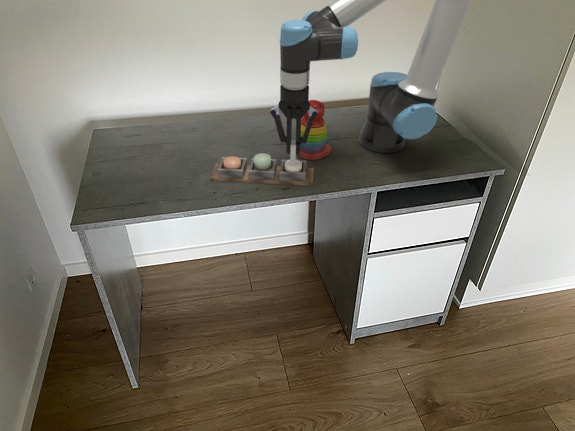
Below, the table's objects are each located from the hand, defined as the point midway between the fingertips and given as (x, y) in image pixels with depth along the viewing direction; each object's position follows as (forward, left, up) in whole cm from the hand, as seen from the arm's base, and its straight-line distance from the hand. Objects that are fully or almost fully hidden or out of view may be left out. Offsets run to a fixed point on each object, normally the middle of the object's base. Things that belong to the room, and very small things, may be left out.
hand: (293, 162), depth 136 cm
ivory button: (0, 0, -3) cm, 3 cm away
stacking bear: (-5, -15, -5) cm, 17 cm away
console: (+9, 0, -5) cm, 10 cm away
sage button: (+9, 0, -2) cm, 9 cm away
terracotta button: (+18, 0, -3) cm, 18 cm away
